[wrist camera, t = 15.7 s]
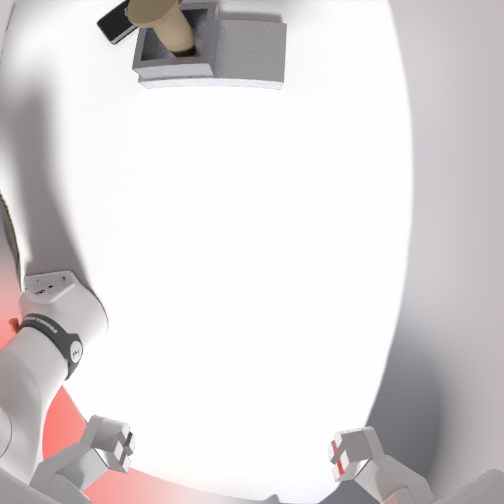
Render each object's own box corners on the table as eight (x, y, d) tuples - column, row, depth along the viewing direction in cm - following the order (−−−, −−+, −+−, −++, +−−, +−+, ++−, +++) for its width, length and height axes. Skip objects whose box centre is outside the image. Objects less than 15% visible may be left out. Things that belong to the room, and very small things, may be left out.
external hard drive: (100, 26, 30) (95, 22, 28) (152, -10, 28) (148, -16, 26) (115, 47, 32) (110, 43, 30) (170, 8, 30) (167, 3, 28)
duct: (147, 88, 34) (122, 72, 25) (155, 34, 31) (135, 9, 22) (280, 89, 35) (290, 70, 26) (283, 34, 32) (292, 6, 23)
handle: (207, 33, 29) (189, -26, 15) (195, 70, 31) (166, 23, 16) (175, 30, 28) (142, -24, 14) (162, 67, 30) (119, 24, 16)
